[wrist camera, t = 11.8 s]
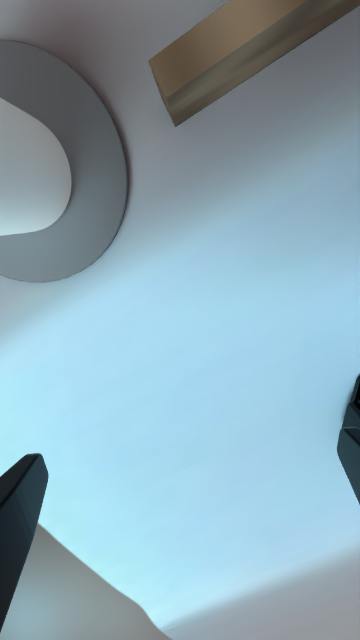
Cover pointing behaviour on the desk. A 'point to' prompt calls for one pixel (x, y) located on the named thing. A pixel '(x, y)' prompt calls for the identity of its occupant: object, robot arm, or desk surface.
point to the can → (30, 173)
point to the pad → (84, 160)
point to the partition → (235, 48)
